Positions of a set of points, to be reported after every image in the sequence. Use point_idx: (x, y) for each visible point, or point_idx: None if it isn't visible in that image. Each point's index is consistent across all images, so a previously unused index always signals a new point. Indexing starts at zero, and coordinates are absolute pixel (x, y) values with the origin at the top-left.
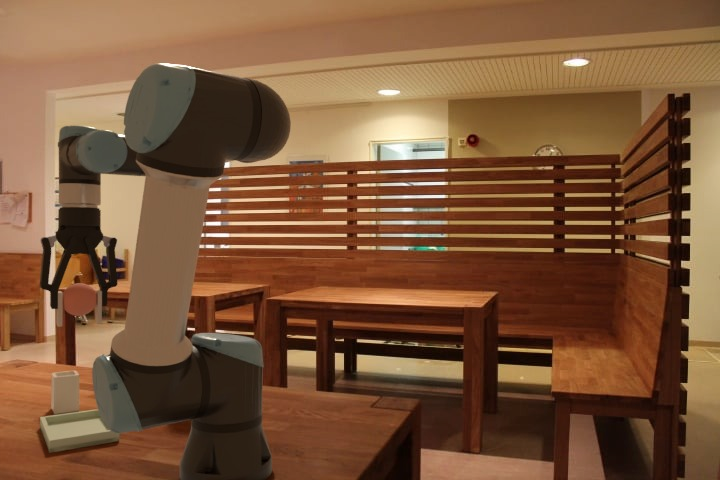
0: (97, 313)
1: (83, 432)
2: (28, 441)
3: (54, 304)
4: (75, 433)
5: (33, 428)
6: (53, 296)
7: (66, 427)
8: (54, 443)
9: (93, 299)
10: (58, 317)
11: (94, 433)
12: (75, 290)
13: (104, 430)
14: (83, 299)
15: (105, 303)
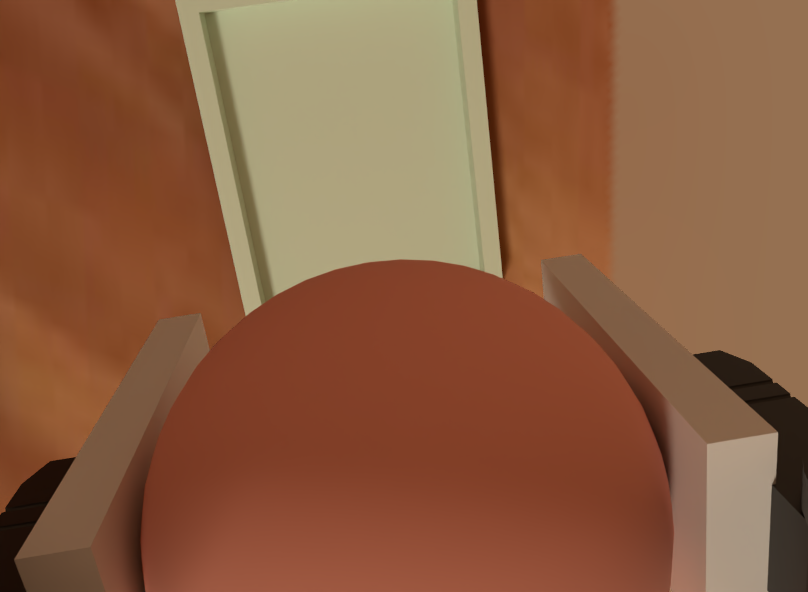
0: (181, 372)
1: (334, 125)
2: (537, 147)
3: (722, 381)
4: (366, 125)
5: None
6: (802, 439)
7: (402, 223)
8: None
9: (190, 381)
10: (611, 282)
11: None
12: (503, 416)
13: (248, 118)
14: (346, 288)
15: (47, 480)
